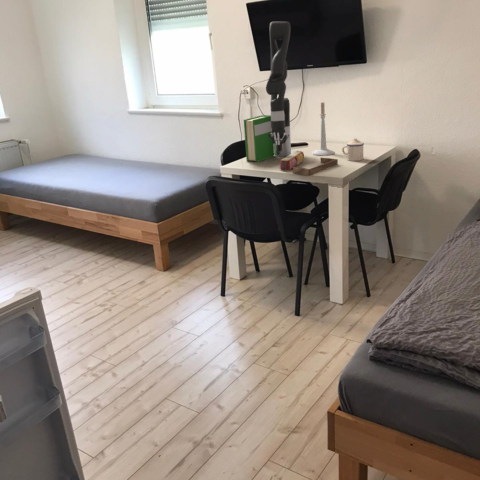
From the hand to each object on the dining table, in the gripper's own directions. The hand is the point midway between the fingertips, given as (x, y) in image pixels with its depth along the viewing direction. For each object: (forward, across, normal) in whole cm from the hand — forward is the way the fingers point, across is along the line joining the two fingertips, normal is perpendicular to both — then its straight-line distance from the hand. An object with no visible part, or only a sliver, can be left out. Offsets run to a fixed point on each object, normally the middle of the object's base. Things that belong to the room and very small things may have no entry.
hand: (279, 151), depth 286 cm
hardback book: (+7, -21, +8) cm, 24 cm away
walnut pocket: (+8, +24, 0) cm, 25 cm away
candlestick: (+7, +6, +34) cm, 35 cm away
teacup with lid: (+8, +30, +27) cm, 41 cm away
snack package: (+8, +8, 0) cm, 12 cm away
